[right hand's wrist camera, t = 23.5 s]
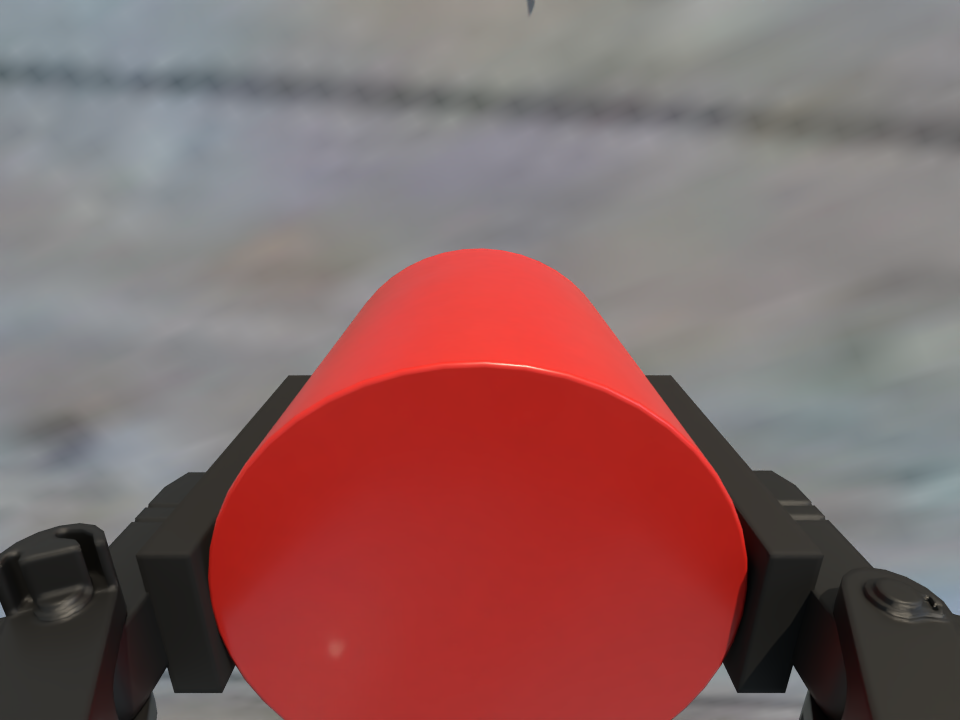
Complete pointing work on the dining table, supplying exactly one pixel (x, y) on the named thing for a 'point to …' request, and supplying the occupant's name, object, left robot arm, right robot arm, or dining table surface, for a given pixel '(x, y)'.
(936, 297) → the dining table surface
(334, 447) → the canister
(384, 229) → the dining table surface
